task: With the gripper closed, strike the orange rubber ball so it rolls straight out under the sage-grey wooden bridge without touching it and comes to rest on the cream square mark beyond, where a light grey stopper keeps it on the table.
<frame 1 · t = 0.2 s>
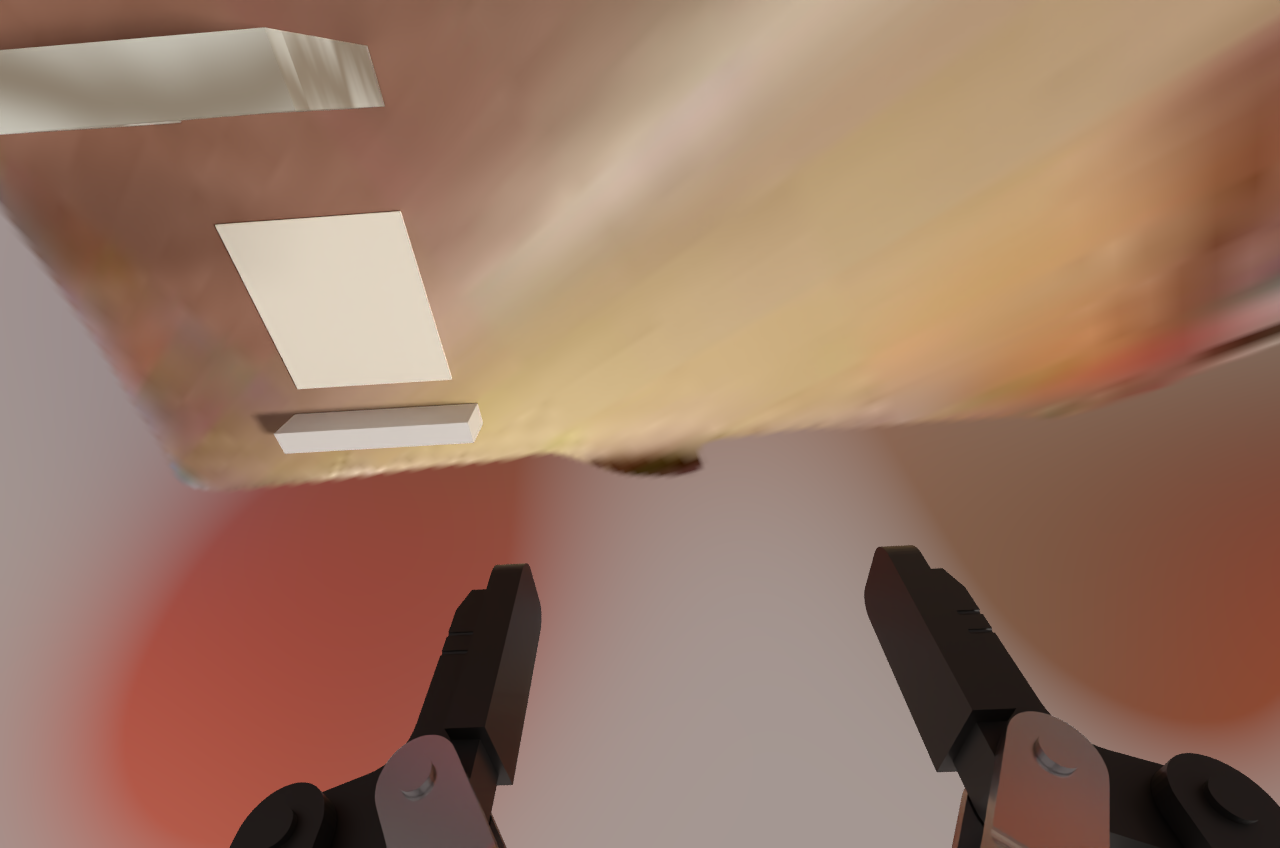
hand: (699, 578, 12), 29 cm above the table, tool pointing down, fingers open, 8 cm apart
bridge: (255, 86, 30), on the table
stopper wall: (389, 418, 44), on the table
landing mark: (344, 308, 38), on the table
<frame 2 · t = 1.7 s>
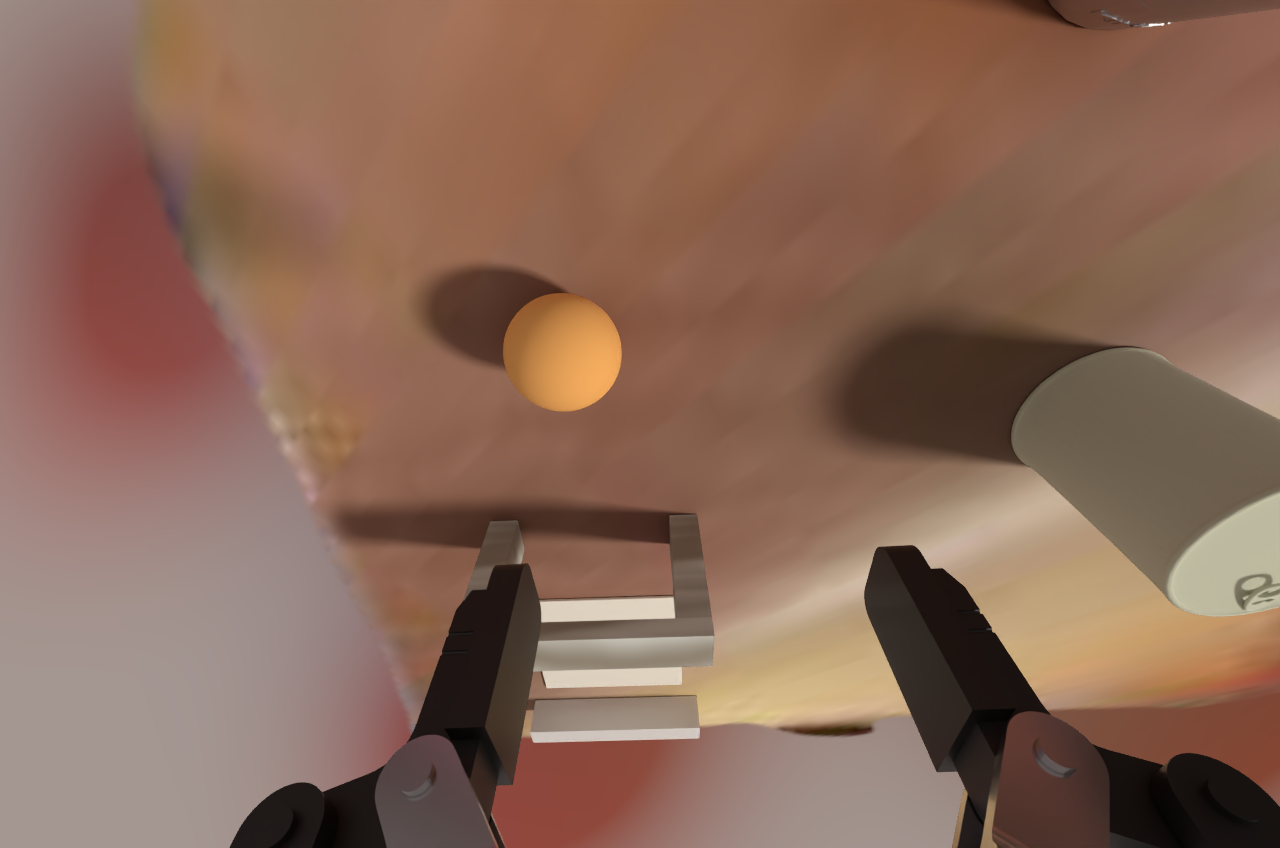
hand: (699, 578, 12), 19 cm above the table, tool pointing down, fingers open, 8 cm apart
ball: (563, 353, 26), on the table
can: (1085, 411, 32), on the table
bridge: (595, 532, 37), on the table
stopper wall: (616, 703, 50), on the table
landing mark: (609, 644, 45), on the table
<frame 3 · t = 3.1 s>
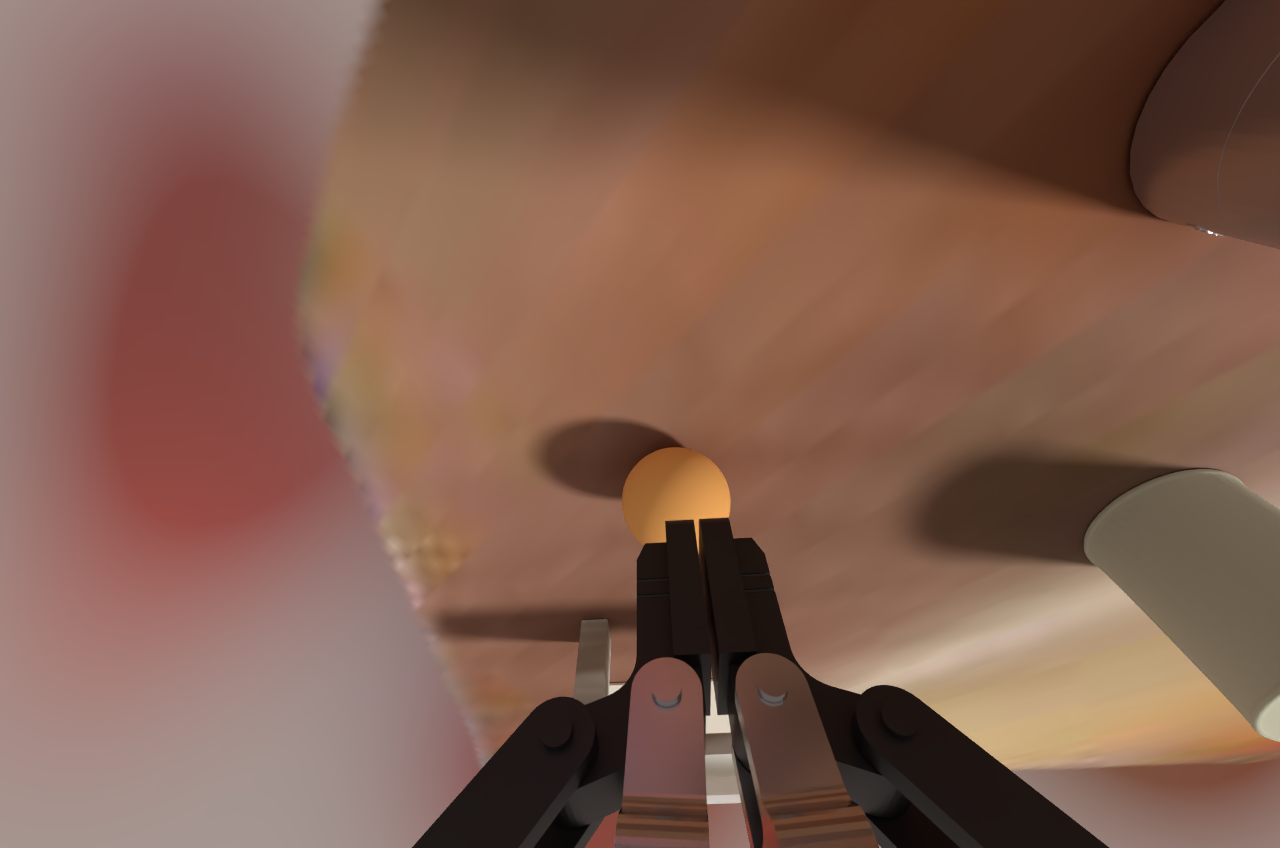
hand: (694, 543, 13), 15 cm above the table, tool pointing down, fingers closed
ball: (675, 501, 28), on the table
can: (1156, 520, 33), on the table
bridge: (679, 627, 39), on the table
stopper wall: (685, 766, 53), on the table
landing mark: (683, 718, 47), on the table
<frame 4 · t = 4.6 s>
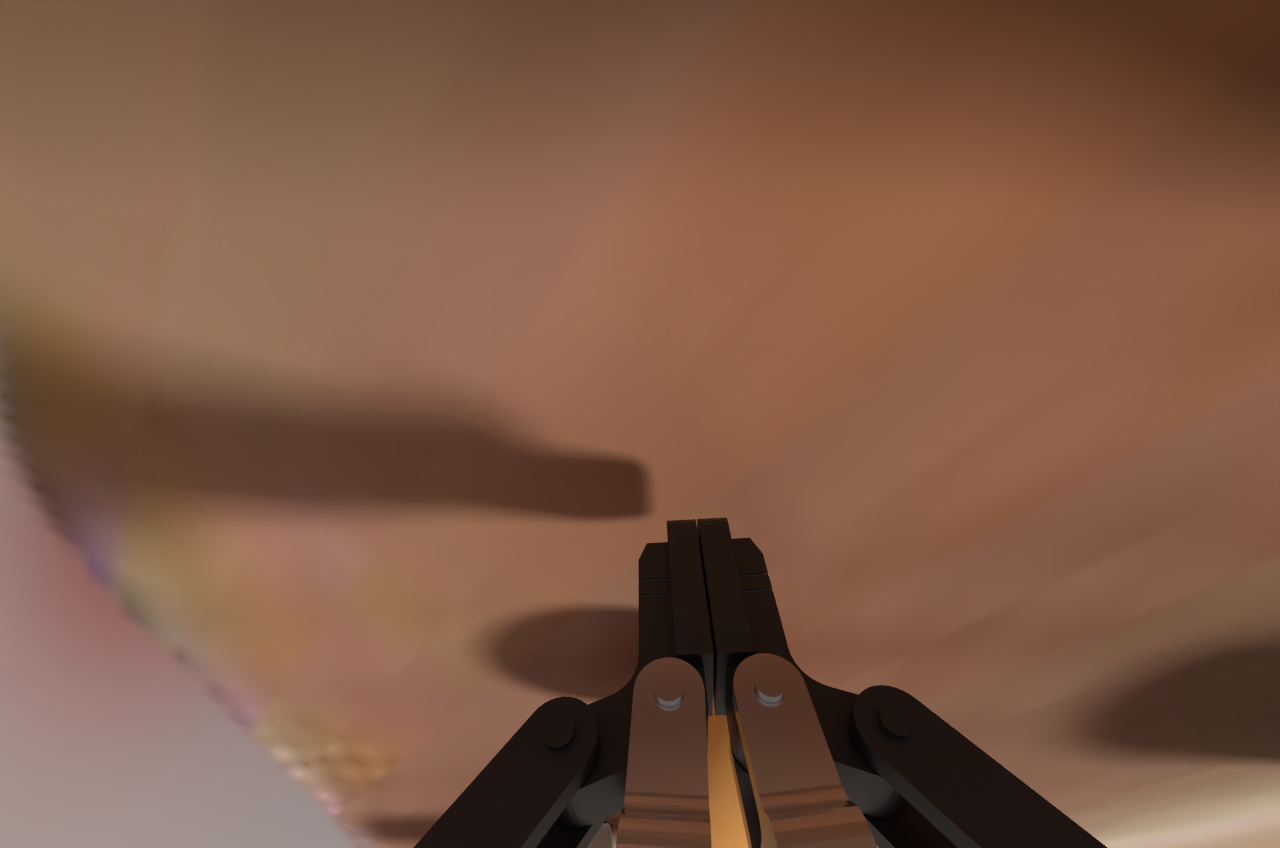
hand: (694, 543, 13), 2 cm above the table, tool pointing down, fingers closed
ball: (717, 754, 16), on the table
bridge: (712, 830, 27), on the table
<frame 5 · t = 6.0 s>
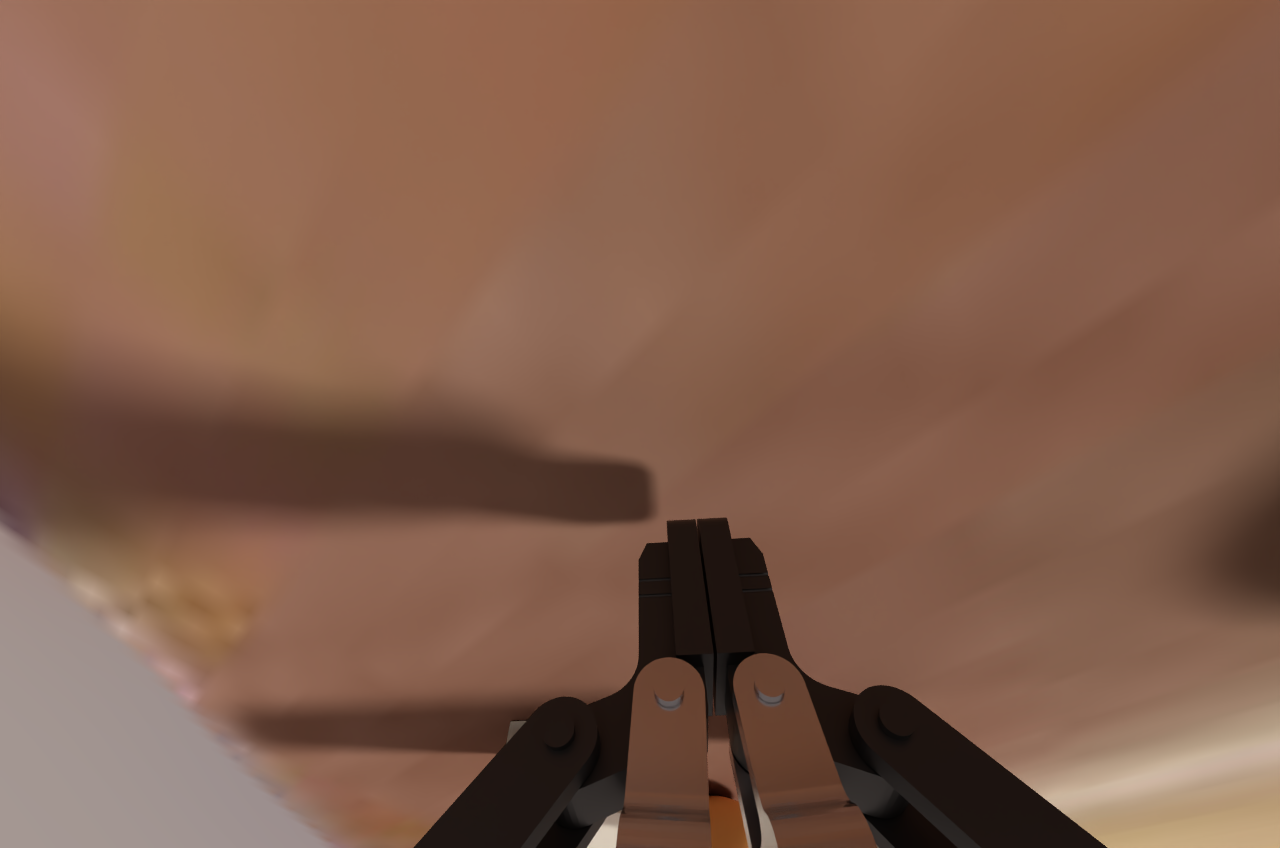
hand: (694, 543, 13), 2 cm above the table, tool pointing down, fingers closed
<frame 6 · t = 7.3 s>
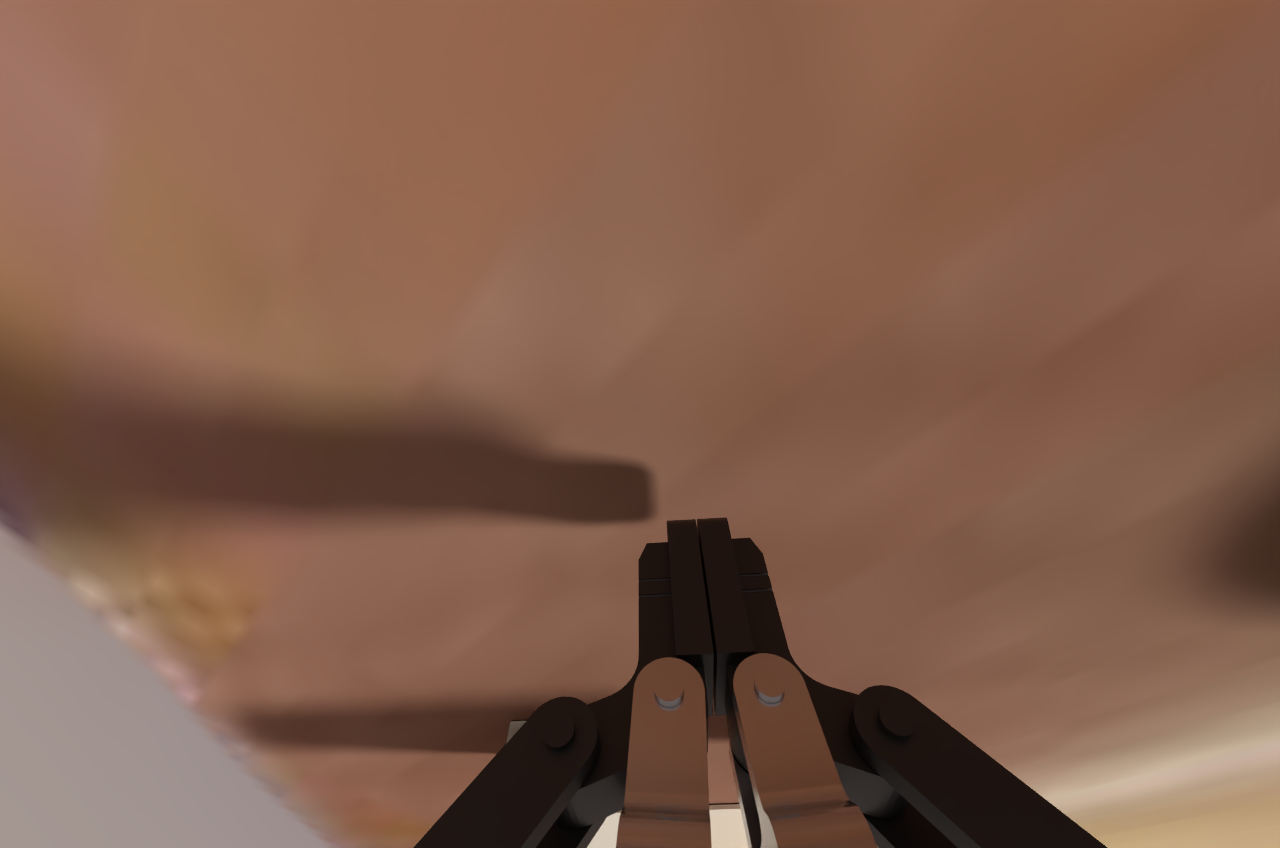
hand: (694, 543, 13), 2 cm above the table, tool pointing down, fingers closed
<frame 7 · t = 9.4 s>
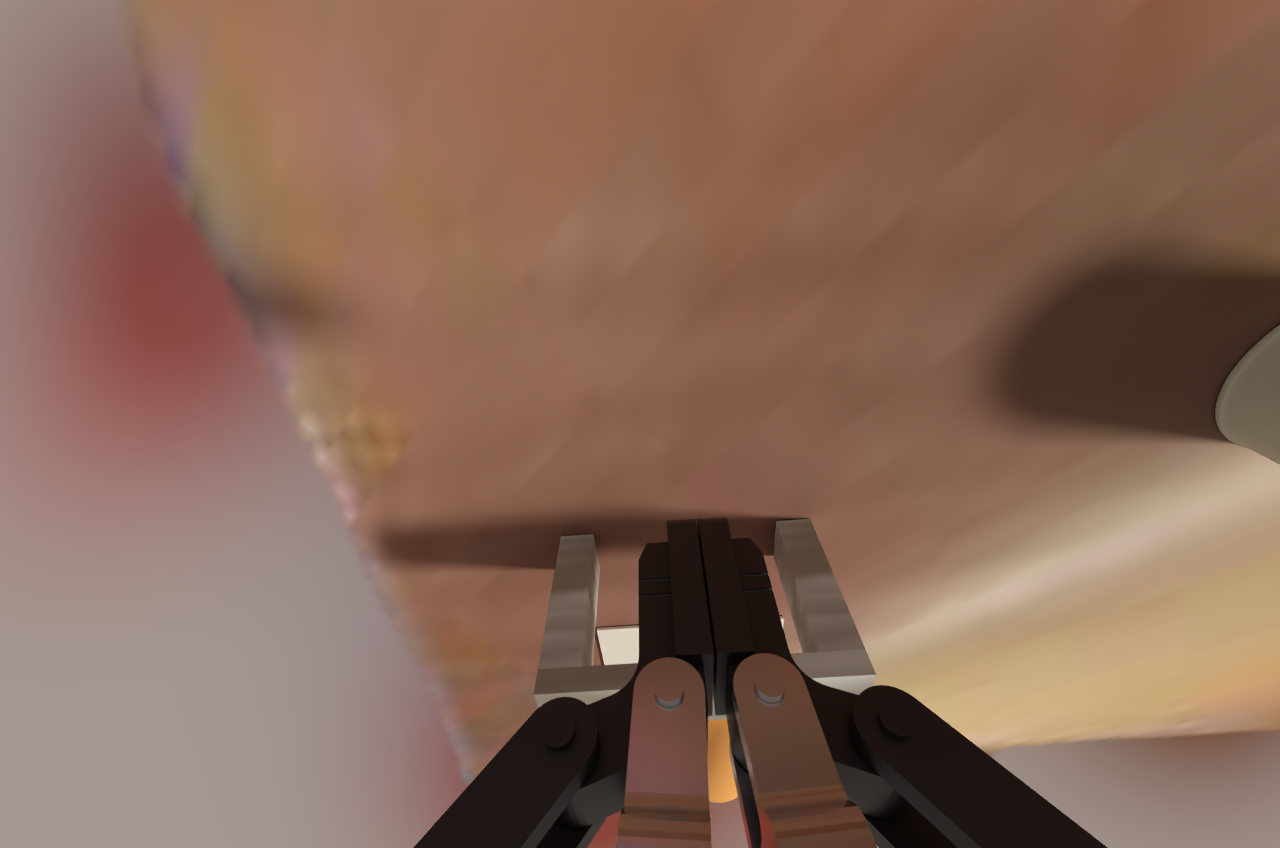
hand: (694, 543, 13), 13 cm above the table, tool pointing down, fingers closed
ball: (715, 754, 39), on the table
bridge: (685, 545, 31), on the table
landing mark: (692, 675, 38), on the table
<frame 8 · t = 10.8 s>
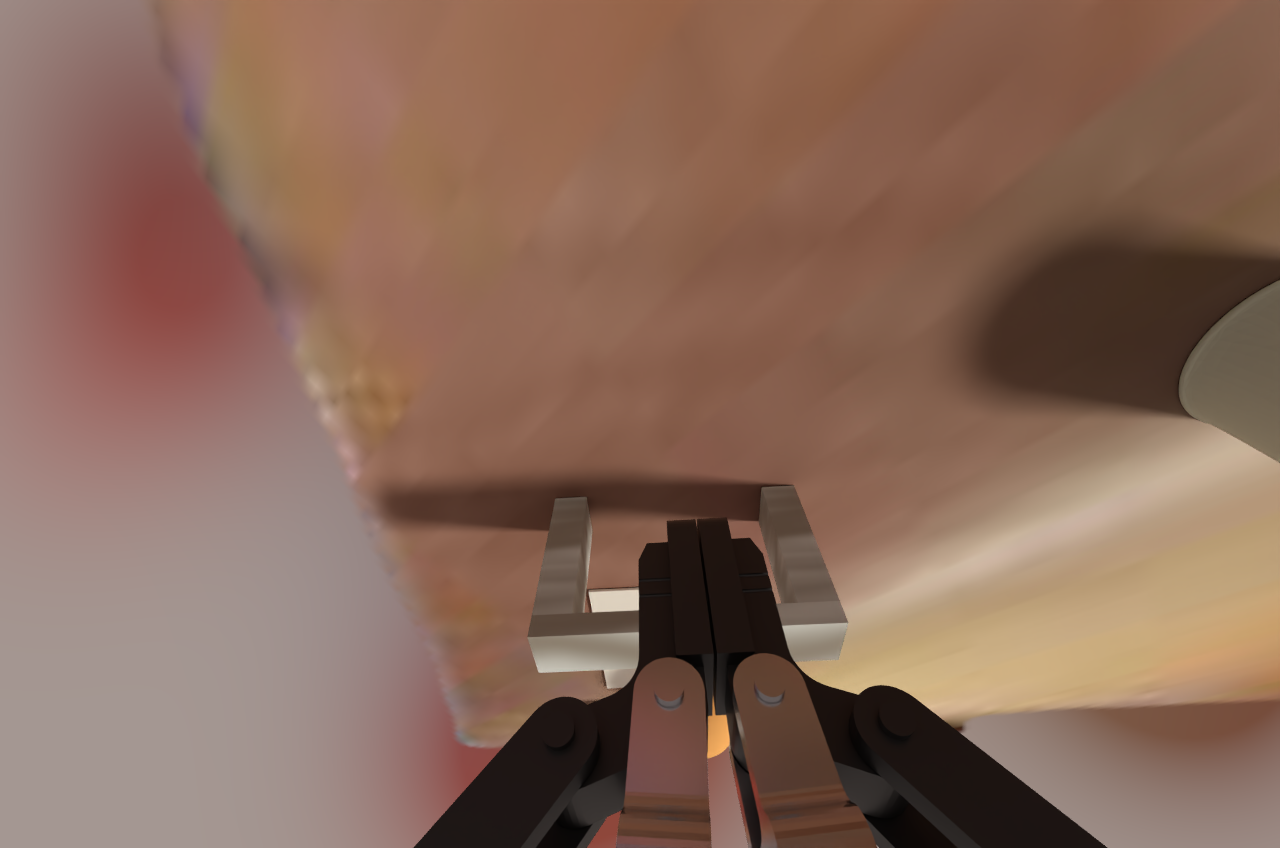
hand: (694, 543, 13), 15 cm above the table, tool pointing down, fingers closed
ball: (700, 714, 41), on the table
can: (1274, 348, 27), on the table
bridge: (674, 509, 32), on the table
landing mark: (679, 638, 40), on the table
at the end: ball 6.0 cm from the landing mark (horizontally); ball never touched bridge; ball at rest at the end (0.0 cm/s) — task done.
